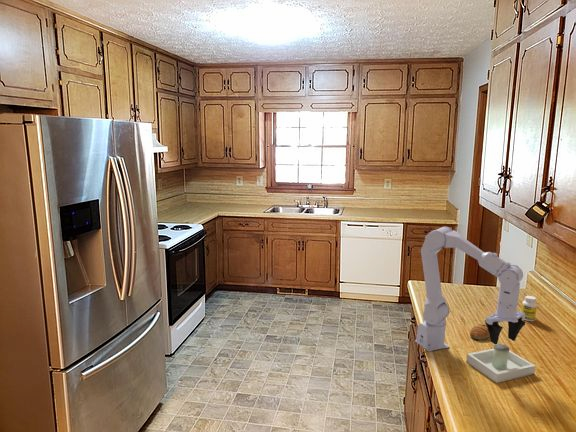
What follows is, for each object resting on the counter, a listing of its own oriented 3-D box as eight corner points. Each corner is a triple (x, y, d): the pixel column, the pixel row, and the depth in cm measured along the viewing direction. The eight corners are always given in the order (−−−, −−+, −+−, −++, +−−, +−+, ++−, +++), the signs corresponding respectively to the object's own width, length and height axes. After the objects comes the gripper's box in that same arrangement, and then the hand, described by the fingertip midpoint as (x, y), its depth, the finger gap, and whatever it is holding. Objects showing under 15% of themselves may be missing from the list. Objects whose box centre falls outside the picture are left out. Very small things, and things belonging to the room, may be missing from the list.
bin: (496, 382, 131) (497, 374, 130) (466, 361, 143) (467, 353, 142) (534, 374, 136) (535, 365, 135) (502, 354, 148) (503, 346, 147)
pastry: (482, 343, 156) (483, 334, 155) (465, 337, 161) (465, 328, 160) (492, 335, 163) (493, 326, 162) (475, 329, 167) (475, 320, 167)
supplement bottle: (521, 320, 176) (524, 298, 174) (519, 315, 181) (522, 294, 179) (535, 322, 174) (539, 300, 172) (533, 317, 179) (536, 296, 177)
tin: (498, 370, 137) (501, 351, 135) (488, 363, 141) (490, 344, 140) (510, 368, 138) (512, 349, 136) (499, 361, 142) (502, 342, 141)
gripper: (500, 310, 129) (495, 350, 131) (535, 304, 133) (529, 343, 136) (482, 301, 135) (478, 339, 138) (516, 296, 140) (511, 333, 143)
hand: (502, 341), depth 138 cm, fingers open, 7 cm apart
